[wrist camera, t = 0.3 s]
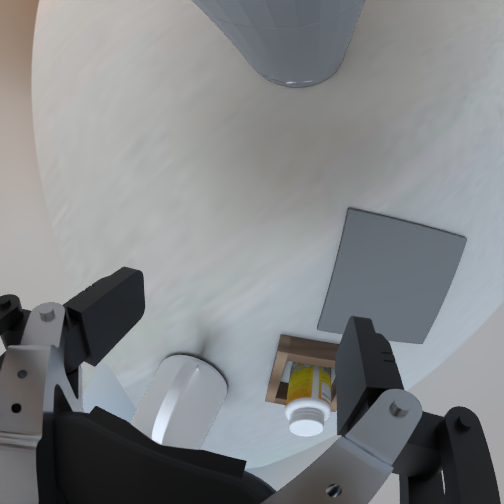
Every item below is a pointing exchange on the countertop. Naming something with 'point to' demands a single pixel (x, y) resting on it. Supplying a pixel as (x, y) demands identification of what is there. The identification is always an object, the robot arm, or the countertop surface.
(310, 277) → the countertop surface
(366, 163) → the countertop surface
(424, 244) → the rubber mat
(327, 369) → the supplement bottle
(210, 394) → the coffeepot
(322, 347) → the collar holder
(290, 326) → the countertop surface
